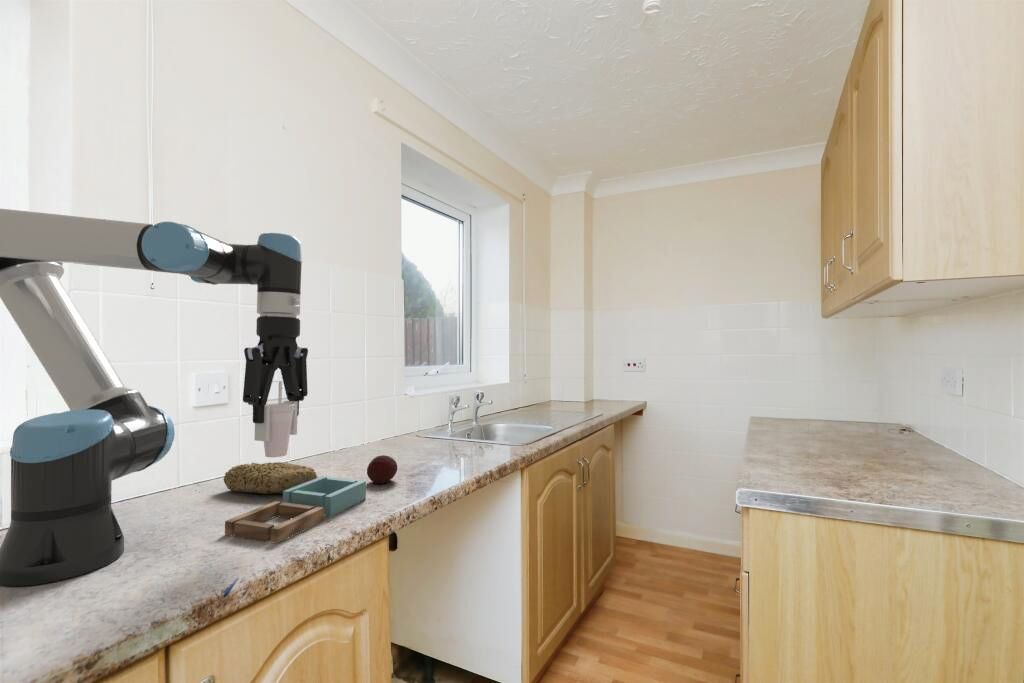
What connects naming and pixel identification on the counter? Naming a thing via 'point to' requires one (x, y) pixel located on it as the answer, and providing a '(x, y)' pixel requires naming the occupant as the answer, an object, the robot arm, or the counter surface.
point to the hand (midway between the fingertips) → (276, 436)
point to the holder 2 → (327, 494)
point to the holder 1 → (254, 529)
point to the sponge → (267, 477)
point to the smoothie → (279, 427)
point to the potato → (382, 469)
